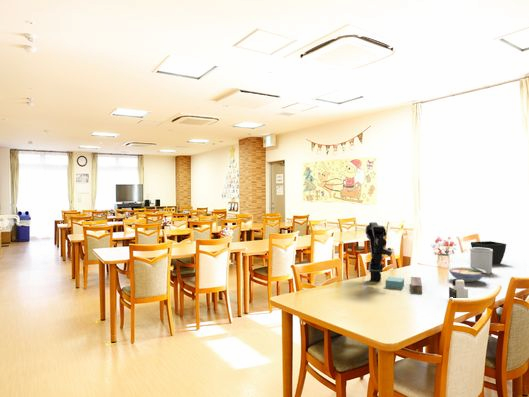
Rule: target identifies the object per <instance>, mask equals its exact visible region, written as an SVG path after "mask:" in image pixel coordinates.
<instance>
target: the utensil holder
mask: <svg viewBox="0 0 529 397" xmlns="http://www.w3.org/2000/svg"><path fill="white" fill-rule="evenodd" d="M469 252H470V254H469V255H470V256H469V257H470V262H469V263H470V266H472V267H474V268H477V269H482V270H484V271H486V273H487V275H489V274H490V275H491V274H492V273H493V272H492V270H493V264H492V252H493V250H492V249H489V248H481V247H473V248H472V247H470V248H469ZM470 266H469V267H470ZM472 267H470V268H472Z"/></svg>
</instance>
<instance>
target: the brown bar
mask: <svg viewBox="0 0 529 397" xmlns="http://www.w3.org/2000/svg"><path fill="white" fill-rule="evenodd" d="M410 286H411V287H410V288H411V290H410V292H411V294H412V293H413V294H423V284H422V278H421V277H420V276H410Z"/></svg>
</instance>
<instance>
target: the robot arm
mask: <svg viewBox="0 0 529 397" xmlns="http://www.w3.org/2000/svg"><path fill="white" fill-rule="evenodd" d="M364 231H365V235H366V238H367V239H368V240H369V247H370V255H371V259H370V262H369V263H368V264H369V265H368V272H369V273H370V279H369V280H370V282H381V280H382V273H383V271H384V270H383V269H384V268H383V267H384V265H383V263H382V260H383V259H384V257H385V256H388V257H391V256H392V254H393V250H392V247H388V248H385V246H387V240H386V239H385V238H386V237H387V231H386V228H385V226H384V225H380V224H378V223H377V222H372V221H370V222H369V224H368V225H366V227H365V230H364Z"/></svg>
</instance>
